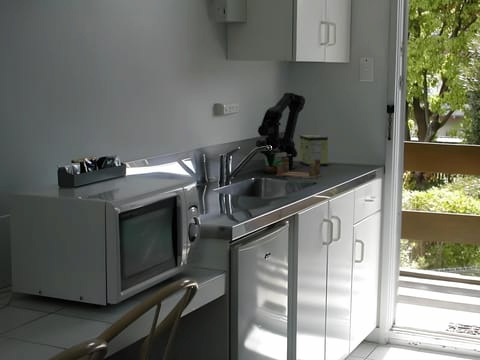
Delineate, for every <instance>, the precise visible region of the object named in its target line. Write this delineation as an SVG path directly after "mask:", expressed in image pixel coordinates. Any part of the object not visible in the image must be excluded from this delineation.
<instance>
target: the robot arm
mask: <svg viewBox="0 0 480 360" xmlns="http://www.w3.org/2000/svg"><path fill="white" fill-rule="evenodd" d="M305 103H306V98H305V97H304V96H303V95H299V94H295V92H284V94H283V96H282V97H281V98H280V99H279V100H278V102H277V103H276V104H275V105H273V106H272V107H269V108H268V109H266V111H265V113H264V116H263V119H262V121H261V125H259V126H258V129H257V133H258V135H259V136H260V137H265V139H264V140H262V139H258V140H256V141H255V146H256V147H257V148H258V147H261V146H266V145H271V146H272V150H271V151H260V150H259V153H260V154H262V155H265V156H266V157H267V160H268V163H269V167H272V164H273V161H274V157H275V154H276V153H282V152H286V154H287V156H286V157H287V158H289V170H293V169H296V166H294V158H296V157H298V151H297V149H296V147H295V146H296V144H295V141H294V137H295V131H296V127H297V121H298V118H299V114H300V112H301V111H303V109H304V106H305ZM287 108H288V110H289V112H288V117H287V120H286V125H285V127H284V128H285V130H284V134H283V136H282V137H281V136H280V126H281V125H282V124H281V122H280V121H281V119H282V118H283V113H284V111H285V110H286V109H287ZM265 156H264V157H265Z"/></svg>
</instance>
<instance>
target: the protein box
mask: <svg viewBox="0 0 480 360" xmlns="http://www.w3.org/2000/svg"><path fill="white" fill-rule="evenodd" d="M328 138H329V137H328V136H323V135H319V134H306V135H305V134H301V135H299V164H300V165H304V166H306V167H308V168H309V166H310V165H313V164H315V159H320V167H328V150H329V149H328V143H329V141H328Z"/></svg>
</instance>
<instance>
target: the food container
mask: <svg viewBox="0 0 480 360" xmlns="http://www.w3.org/2000/svg"><path fill="white" fill-rule="evenodd" d="M262 155H263V157H264V160H265V172H267V173H272V174H273V173H276V172H277V164H278V163H282V162H284V158H285V157H286V156H287V155H288V154H286V152H282V153H276V154H275V157H274V161H273V164H272V167H269V163H268V160H267V157H266V156H265V155H264V154H262ZM276 174H277V173H276Z"/></svg>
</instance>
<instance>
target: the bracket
mask: <svg viewBox="0 0 480 360" xmlns="http://www.w3.org/2000/svg"><path fill="white" fill-rule="evenodd" d="M275 175H276V177H283V176H291V177H290V178H297V177H302V178H301V179H310V178H313V179H316V178H319V177H321V176H322V173H321V166H320V159H315V164H313V165H310V166H309V167H308V172H301V171H299V172H298V171H290V169H289V158H287V157H285V158H284V162H282V163H278V164H277V173H276V174H275Z"/></svg>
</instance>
